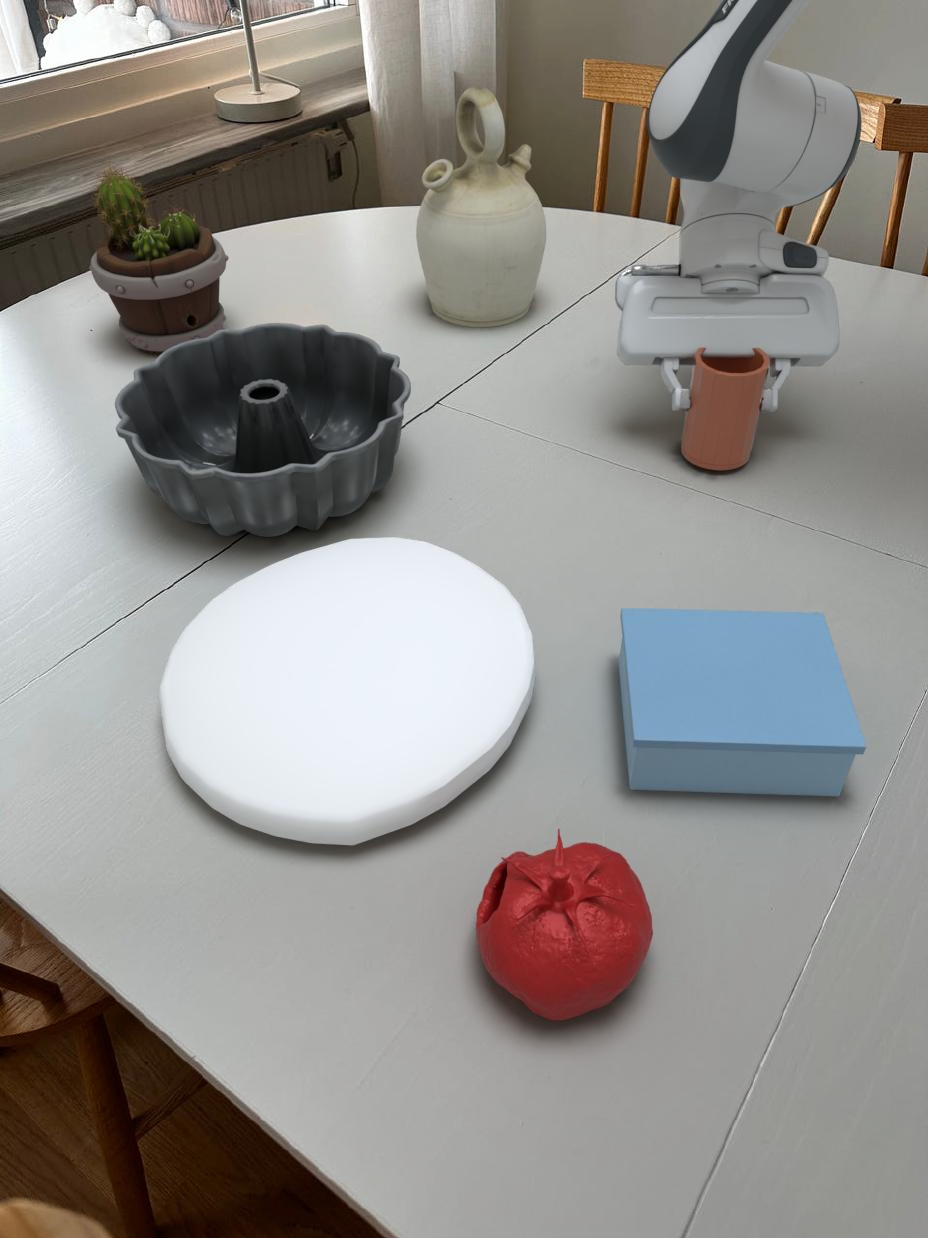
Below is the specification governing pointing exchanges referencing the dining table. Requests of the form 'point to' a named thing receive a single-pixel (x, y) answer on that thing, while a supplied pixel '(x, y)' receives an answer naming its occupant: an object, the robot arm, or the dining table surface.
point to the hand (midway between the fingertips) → (724, 410)
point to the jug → (480, 225)
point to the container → (735, 703)
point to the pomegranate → (564, 928)
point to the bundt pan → (266, 426)
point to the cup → (723, 409)
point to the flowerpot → (156, 269)
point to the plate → (347, 689)
